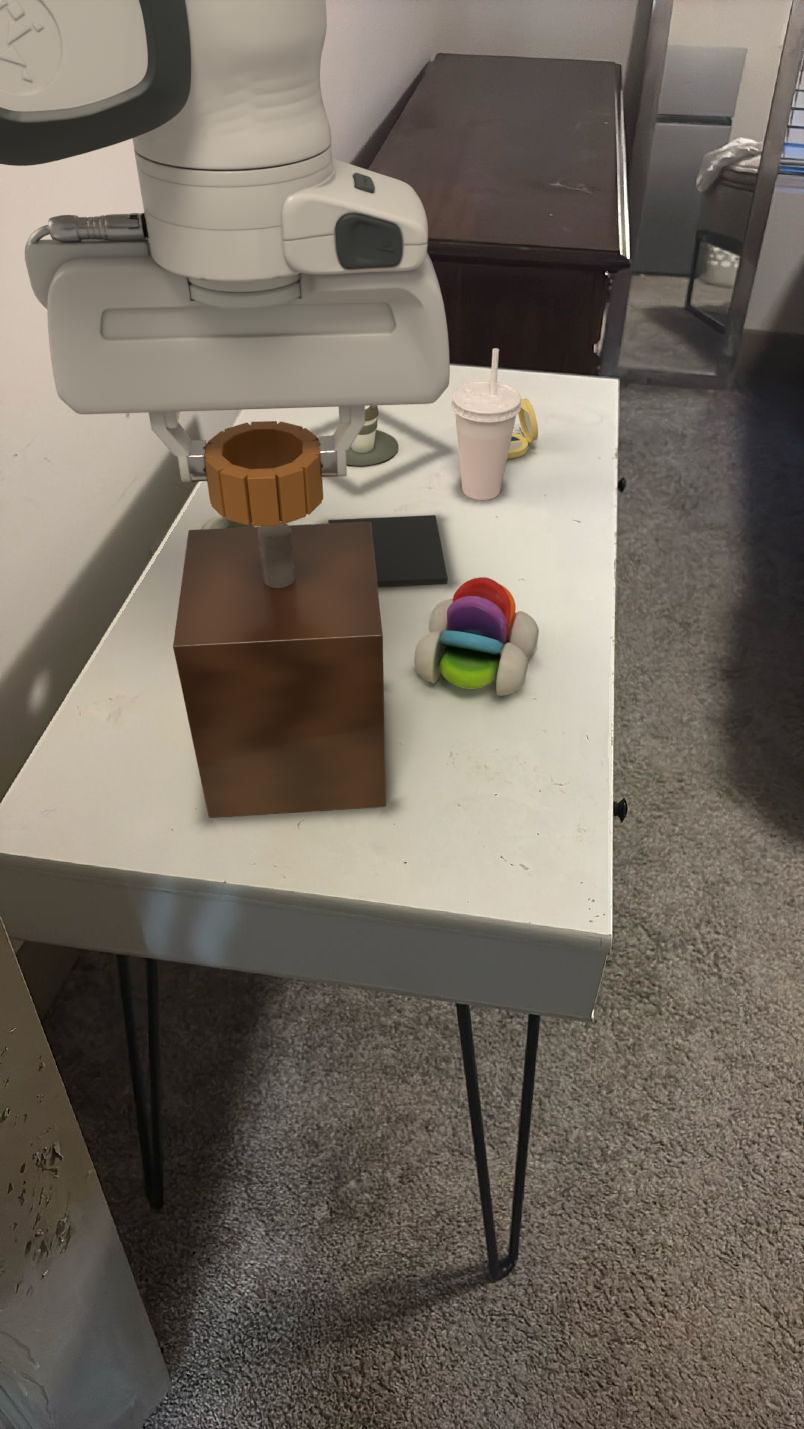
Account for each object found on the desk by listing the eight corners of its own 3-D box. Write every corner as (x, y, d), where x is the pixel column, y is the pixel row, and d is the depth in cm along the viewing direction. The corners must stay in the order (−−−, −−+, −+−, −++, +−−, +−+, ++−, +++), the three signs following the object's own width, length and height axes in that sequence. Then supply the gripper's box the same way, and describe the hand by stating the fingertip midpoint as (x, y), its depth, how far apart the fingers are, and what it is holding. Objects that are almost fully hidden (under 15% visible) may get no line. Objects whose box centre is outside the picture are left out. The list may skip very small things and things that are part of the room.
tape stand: (208, 818, 67) (162, 596, 54) (217, 697, 76) (180, 482, 63) (386, 807, 68) (381, 586, 55) (375, 688, 77) (369, 474, 64)
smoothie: (516, 507, 95) (528, 365, 85) (448, 507, 95) (453, 365, 85) (512, 473, 100) (523, 334, 90) (447, 472, 100) (452, 334, 90)
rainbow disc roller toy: (541, 639, 81) (550, 564, 76) (514, 718, 74) (522, 642, 69) (441, 619, 83) (443, 545, 78) (405, 694, 76) (405, 619, 71)
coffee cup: (282, 447, 104) (277, 402, 100) (369, 410, 109) (368, 366, 106) (357, 492, 97) (355, 445, 94) (445, 450, 103) (447, 405, 100)
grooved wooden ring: (207, 528, 55) (200, 480, 53) (214, 469, 60) (207, 422, 57) (324, 524, 55) (321, 475, 53) (321, 465, 60) (319, 419, 58)
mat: (331, 589, 86) (331, 583, 85) (328, 525, 93) (328, 519, 93) (447, 583, 86) (447, 577, 86) (435, 520, 94) (435, 514, 93)
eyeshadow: (479, 440, 104) (482, 395, 101) (524, 434, 105) (528, 390, 102) (492, 460, 101) (495, 415, 98) (539, 454, 102) (543, 409, 99)
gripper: (0, 239, 44) (69, 511, 54) (461, 230, 45) (449, 497, 55) (27, 195, 49) (87, 452, 58) (445, 188, 50) (437, 441, 59)
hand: (266, 474), depth 56 cm, fingers closed on grooved wooden ring, 6 cm apart
